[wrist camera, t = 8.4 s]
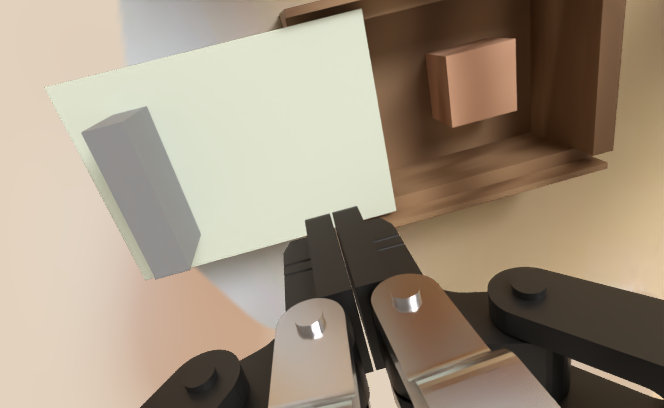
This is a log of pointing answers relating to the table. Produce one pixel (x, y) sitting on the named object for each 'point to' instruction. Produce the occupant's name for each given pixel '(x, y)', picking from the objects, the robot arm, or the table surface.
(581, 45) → the walnut box
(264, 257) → the table surface
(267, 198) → the cover plate
